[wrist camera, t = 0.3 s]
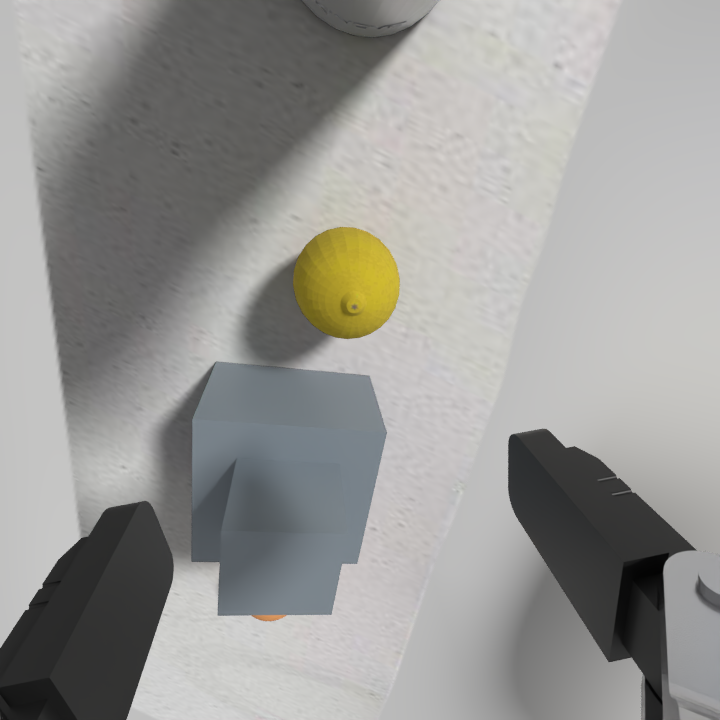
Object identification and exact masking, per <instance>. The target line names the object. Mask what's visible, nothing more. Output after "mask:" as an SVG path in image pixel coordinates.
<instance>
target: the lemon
mask: <svg viewBox="0 0 720 720" xmlns="http://www.w3.org/2000/svg"><path fill="white" fill-rule="evenodd" d="M399 284H400V278H399V274H398V269H397V265H396V262H395V260H394V258H393V257H392V255H391V253H390V251H389V250H388V248H387V247H386V246H385V245H384V244H383V243H382V242H381V241H380V240H379V239H378V238H376V237H375V236H373V235H371V234H370V233H368V232H366V231H363V230H360V229H357V228H350V227H339V228H334V229H330V230H327V231H325V232H323V233H321V234H319V235H317V236H315V237H314V238H313V239H312V240H311V241H310V242H309V243H308V244H307V245H306V246H305V247H304V249H303V251H302V252H301V254H300V255H299V257H298V259H297V262H296V266H295V269H294V278H293V287H294V292H295V297H296V301H297V303H298V305H299V307H300V309H301V311H302V313H303V314H304V316H305V317H306V318H307V319H308V320H309V321H310V323H311V324H312V325H313V326H315V327H316V328H318V329H319V330H320V331H322V332H323V333H325V334H328V335H331V336H333V337H336V338H344V339H351V338H360V337H363V336H365V335H368V334H371V333H372V332H374V331H375V330H377V329H378V328H380V327H381V326H382V325H383V324H384V323H385V322H386V321H387V320H388V319H389V317H390V316H391V314H392V312H393V311H394V309H395V307H396V303H397V300H398V296H399Z"/></svg>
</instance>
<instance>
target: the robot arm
mask: <svg viewBox="0 0 720 720" xmlns="http://www.w3.org/2000/svg"><path fill="white" fill-rule="evenodd" d="M302 1H303V3H304V4H305V5H306V6H307V7H308V8H309V9H310V10H311V11H312V12H313V13H314V14H315V15H316V16H317V17H319V18H320V19H322V20H323V21H325V22H326V23H328V24H329V25H331V26H332V27H334V28H335V29H338V30H341V31H343V32H346V33H349V34H351V35H354V36H364V37H379V36H386V35H392V34H395V33H397V32H399V31H401V30H404V29H406V28H408V27H411V26H412V25H413V24H415V23H416V22H417V21H418V20H420V19H421V18H422V17H424V16H425V15H426V14H428V12H429V11H430V10H431V9H432V8H433V7H434V6H435V5H436V3H437V2H438V1H439V0H302ZM508 449H509V450H508V455H509V457H508V463H509V465H508V481H509V482H508V490H509V496H510V501H511V505H512V508H513V510H514V513H515V515H516V517H517V518H518V520H519V522H520V523H521V525H522V526H523V528H524V529H525V531H526V533H527V534H528V536H529V537H530V539H531V540H532V542H533V544H534V545H535V547H536V548H537V550H538V551H539V553H540V555H541V556H542V558H543V559H544V561H545V562H546V564H547V566H548V567H549V569H550V570H551V572H552V573H553V575H554V576H555V578H556V580H557V581H558V583H559V585H560V586H561V588H562V589H563V591H564V592H565V594H566V596H567V597H568V599H569V600H570V602H571V603H572V605H573V606H574V608H575V610H576V611H577V613H578V614H579V616H580V618H581V619H582V621H583V622H584V624H585V625H586V627H587V629H588V630H589V632H590V633H591V635H592V636H593V638H594V639H595V641H596V643H597V644H598V646H599V647H600V649H601V650H602V652H603V654H604V655H605V657H606V658H607V660H608V662H613V661H617V660H622V659H626V658H631V657H632V658H633V660H634V661H635V663H636V664H637V666H638V667H639V668H640V670H641V671H642V673H643V676H642V683H641V720H720V555H719V554H715V553H710V552H706V551H697V550H696V549H695V548H694V547H692V546H691V545H690V544H689V543H688V542H687V541H686V540H685V539H684V538H683V537H682V536H681V535H680V534H678V532H676V531H675V530H674V529H673V528H672V527H671V526H670V525H669V524H668V523H667V522H666V521H665V520H664V519H663V518H661V517H660V516H659V515H658V514H657V513H656V512H655V511H654V510H653V509H652V508H651V507H650V506H649V505H648V504H646V503H645V502H644V501H643V500H642V499H641V498H640V497H639V496H638V495H637V494H636V493H632V491H631V489H630V488H629V487H628V486H627V485H626V484H625V483H624V482H623V481H622V480H621V479H620V478H619V479H617V477H616V475H615V474H614V473H613V472H612V471H611V470H610V469H609V468H608V467H607V466H606V465H605V464H604V463H603V462H601V460H599V459H598V458H596V457H594V456H592V455H590V454H588V453H587V452H585V451H583V450H581V449H579V448H577V447H575V446H574V447H569V448H565V447H564V446H563V445H562V444H561V443H560V441H559V440H557V438H556V437H555V436H554V435H553V434H552V433H551V432H550V431H548V430H547V429H539V430H534V431H528V432H522V433H517V434H513V435H511V436H510V438H509V445H508ZM172 580H173V558H172V554H171V551H170V548H169V546H168V544H167V541H166V539H165V536H164V534H163V531H162V529H161V527H160V524H159V522H158V519H157V517H156V514H155V512H154V510H153V508H152V506H151V504H150V503H149V502H147V501H143V502H137V503H132V504H127V505H121V506H116V507H110V508H108V509H106V510H105V511H104V512H103V514H102V515H101V517H100V519H99V520H98V522H97V524H96V525H95V527H94V528H93V530H92V532H91V533H90V535H89V537H84V538H81V539H80V540H79V541H78V542H77V543H76V544H75V545H74V546H73V547H72V548H71V549H70V550H69V551H67V552H66V553H65V554H64V555H63V556H62V557H61V558H60V559H59V560H58V561H57V563H56V564H55V566H54V567H53V569H52V570H51V572H50V574H49V575H48V577H47V578H46V580H45V581H44V583H43V588H42V589H39V590H38V592H37V593H36V595H35V596H34V598H33V599H32V601H31V602H30V604H29V610H25V612H24V613H23V615H22V616H21V618H20V619H19V621H18V622H17V624H16V625H15V627H14V628H13V630H12V632H11V633H10V634H9V636H8V638H7V639H6V641H5V642H4V644H3V645H2V647H1V648H0V720H126V719H127V716H128V713H129V710H130V707H131V704H132V701H133V698H134V695H135V692H136V689H137V686H138V683H139V680H140V677H141V674H142V671H143V668H144V665H145V662H146V659H147V656H148V653H149V650H150V647H151V644H152V641H153V638H154V635H155V632H156V629H157V626H158V623H159V620H160V617H161V614H162V611H163V608H164V605H165V602H166V599H167V596H168V593H169V590H170V587H171V584H172Z"/></svg>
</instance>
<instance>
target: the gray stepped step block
mask: <svg viewBox="0 0 720 720" xmlns="http://www.w3.org/2000/svg"><path fill="white" fill-rule="evenodd" d="M386 434H387V432H386V428H385V425H384V422H383V419H382V415H381V412H380V409H379V405H378V402H377V399H376V396H375V392H374V389H373V386H372V383H371V379H370V376H366V375H355V374H345V373H334V372H323V371H312V370H301V369H290V368H280V367H269V366H258V365H247V364H236V363H226V362H216V363H215V366H214V368H213V371H212V373H211V375H210V378H209V380H208V383H207V385H206V387H205V390H204V392H203V395H202V397H201V399H200V402H199V404H198V407H197V409H196V411H195V414H194V416H193V419H192V562H220V571H219V594H218V616H229V615H331V614H332V609H333V604H334V600H335V595H336V590H337V585H338V580H339V575H340V570H341V566H342V564H357V562H358V558H359V553H360V549H361V544H362V540H363V536H364V531H365V527H366V522H367V518H368V513H369V509H370V505H371V500H372V496H373V491H374V487H375V483H376V478H377V474H378V469H379V465H380V460H381V456H382V452H383V447H384V443H385V438H386Z"/></svg>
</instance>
